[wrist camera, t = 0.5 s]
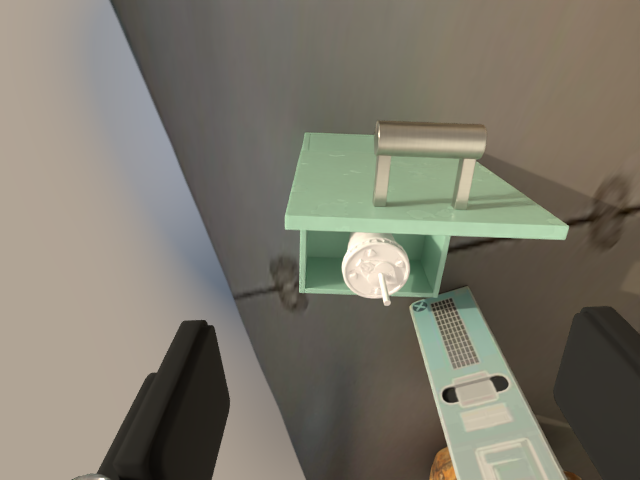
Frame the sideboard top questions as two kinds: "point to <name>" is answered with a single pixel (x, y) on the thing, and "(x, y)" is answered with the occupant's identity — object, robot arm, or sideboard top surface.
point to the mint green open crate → (331, 246)
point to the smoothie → (375, 265)
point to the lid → (414, 188)
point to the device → (479, 394)
